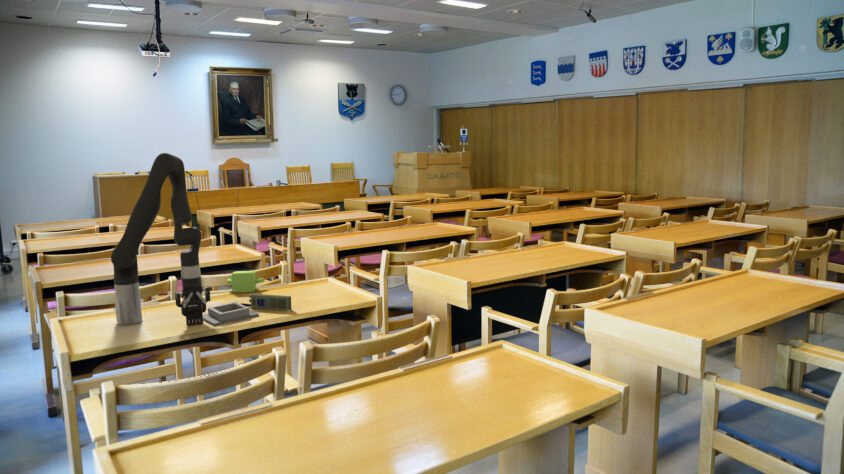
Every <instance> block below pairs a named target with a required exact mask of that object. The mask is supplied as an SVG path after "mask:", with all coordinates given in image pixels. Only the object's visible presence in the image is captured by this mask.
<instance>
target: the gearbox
mask: <svg viewBox="0 0 844 474" xmlns="http://www.w3.org/2000/svg"><path fill="white" fill-rule="evenodd" d="M264 282H265V278H264V277H260V278H256V270H241V271H239V270H238V271H232V273H231V278H227V280H226V284H227V285H231V290H232V293H253V292H255V291H256V288H257V284H260V283H264Z"/></svg>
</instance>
